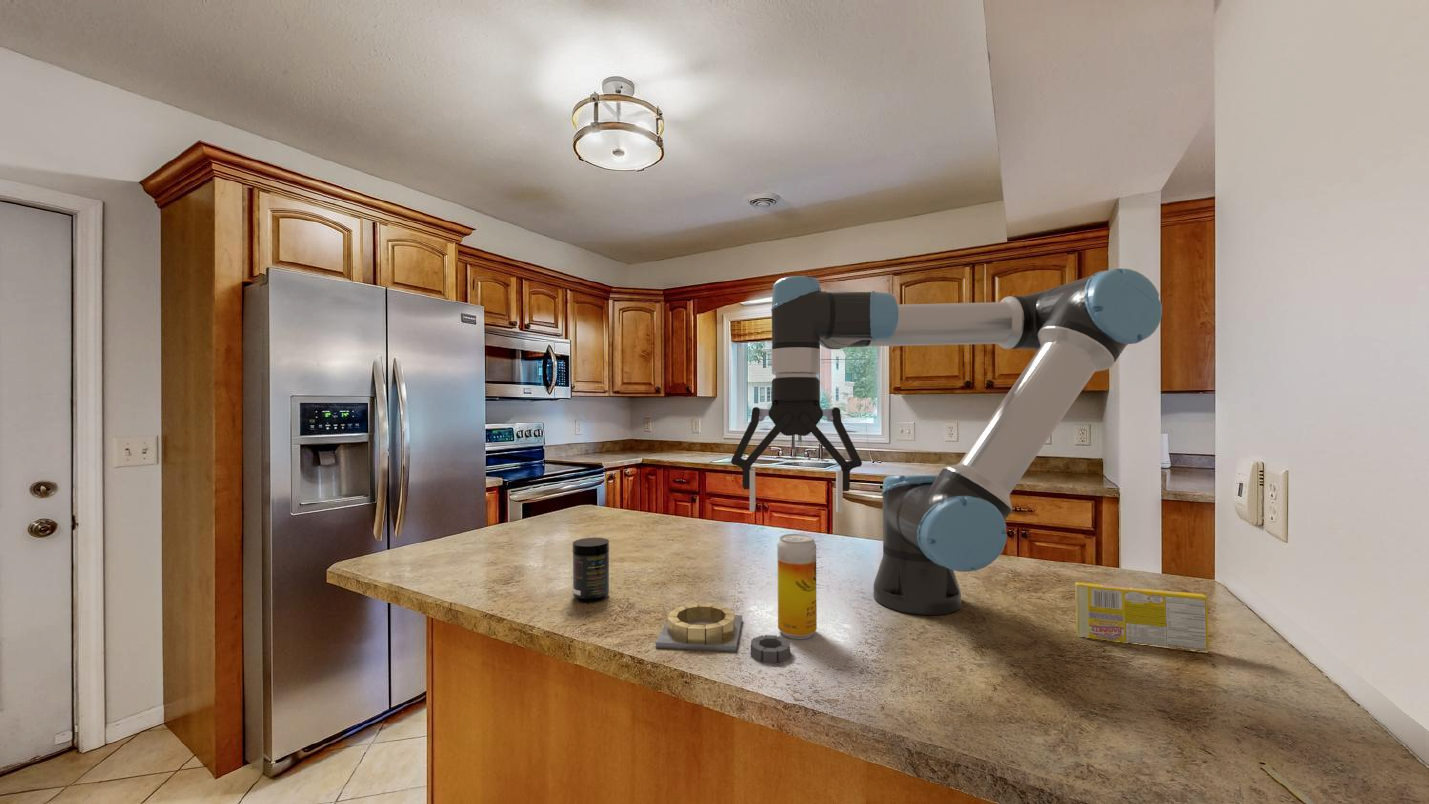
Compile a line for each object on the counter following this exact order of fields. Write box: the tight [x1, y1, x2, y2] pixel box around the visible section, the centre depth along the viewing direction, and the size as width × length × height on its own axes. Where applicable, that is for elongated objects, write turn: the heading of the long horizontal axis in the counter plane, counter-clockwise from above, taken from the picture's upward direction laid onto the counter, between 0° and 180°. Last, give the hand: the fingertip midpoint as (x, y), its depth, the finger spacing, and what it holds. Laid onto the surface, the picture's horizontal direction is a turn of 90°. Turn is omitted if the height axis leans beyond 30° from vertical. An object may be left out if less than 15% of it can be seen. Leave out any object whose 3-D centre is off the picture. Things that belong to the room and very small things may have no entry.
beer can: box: [776, 533, 818, 640], centre depth 89 cm, size 6×6×15 cm
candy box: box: [1074, 582, 1210, 652], centre depth 85 cm, size 16×2×8 cm, turn 68°
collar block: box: [655, 603, 743, 653], centre depth 89 cm, size 12×12×3 cm
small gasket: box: [750, 634, 791, 664], centre depth 82 cm, size 6×6×2 cm
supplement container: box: [571, 537, 610, 604], centre depth 106 cm, size 7×7×10 cm
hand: (795, 511), depth 89 cm, fingers open, 13 cm apart
